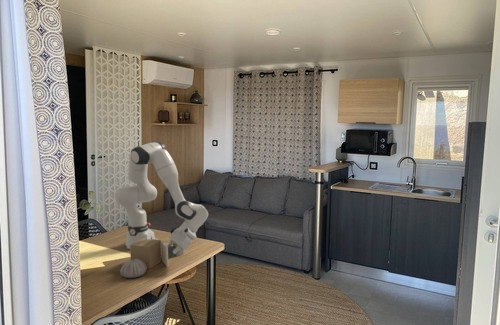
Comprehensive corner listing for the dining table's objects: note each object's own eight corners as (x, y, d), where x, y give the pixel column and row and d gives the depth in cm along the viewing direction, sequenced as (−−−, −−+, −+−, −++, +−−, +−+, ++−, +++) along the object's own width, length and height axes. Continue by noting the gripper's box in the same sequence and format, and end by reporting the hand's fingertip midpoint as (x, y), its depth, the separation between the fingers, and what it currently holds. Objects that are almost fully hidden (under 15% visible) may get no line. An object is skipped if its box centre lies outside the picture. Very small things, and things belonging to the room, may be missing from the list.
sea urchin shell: (133, 282, 187) (132, 266, 186) (114, 276, 194) (113, 261, 193) (152, 272, 199) (151, 257, 198) (133, 267, 205) (133, 253, 204)
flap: (161, 259, 215) (161, 240, 214) (171, 257, 218) (171, 239, 217) (167, 266, 205) (166, 247, 204) (177, 264, 207) (176, 245, 206)
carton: (142, 258, 219) (141, 238, 217) (161, 260, 216) (160, 239, 214) (130, 266, 207) (130, 244, 206) (150, 268, 204) (149, 246, 203)
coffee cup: (169, 252, 229) (168, 228, 227) (184, 249, 233) (184, 226, 232) (173, 257, 220) (173, 232, 218) (189, 254, 225) (189, 230, 223)
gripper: (177, 222, 219) (161, 241, 216) (189, 231, 202) (172, 252, 198) (184, 229, 222) (168, 247, 219) (197, 238, 205) (180, 259, 201)
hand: (170, 250), depth 208 cm, fingers open, 8 cm apart
